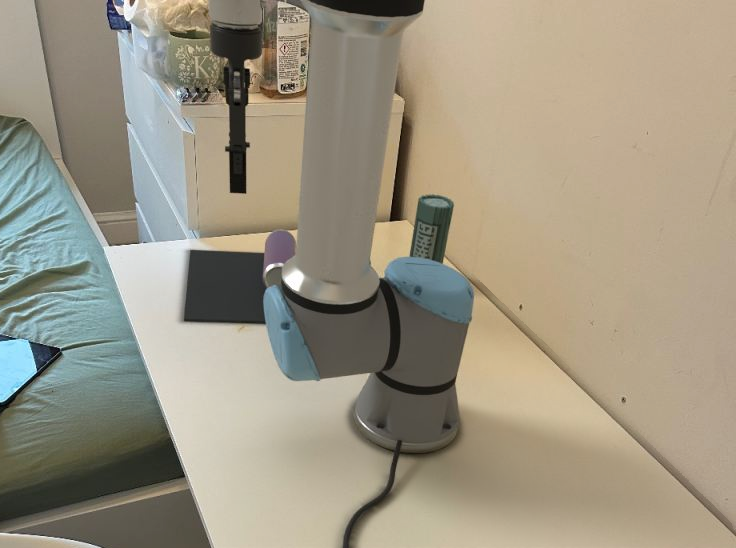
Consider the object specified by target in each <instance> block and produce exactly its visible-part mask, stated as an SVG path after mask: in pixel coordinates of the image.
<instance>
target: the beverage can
mask: <svg viewBox="0 0 736 548" xmlns="http://www.w3.org/2000/svg"><path fill="white" fill-rule="evenodd" d="M296 245H297V239H296V238H295V236H294V235H293V234H292V232H290V231H289V230H286V229H279V228H278V229H275V230H273V231H271V232H270V233H269V234H268V236H267V238H266V239H265V242H264V251H263V253H264V263H263V275H262V280H263V284H264V286H265V287H266V288H269V287H272V286H273V285H277V286H281V275H282V268H283V265H284V264H285V262H286V261H288V260H289V259H290V258H292V257H293V256H294V255H296Z"/></svg>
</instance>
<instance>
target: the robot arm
mask: <svg viewBox="0 0 736 548" xmlns="http://www.w3.org/2000/svg"><path fill="white" fill-rule="evenodd" d="M299 2H300V3H301V4H302V5H303V7H304V9H305V10H306V12H307V13H308V14H309V17H310V19H311V23H310V36H309V37H310V38H309V40H310V41H309V51H308V52H309V54H308V65H307V66H308V67H307V68H308V69H307V83H306V96H305V97H306V98H305V111H304V112H305V113H304V125H303V126H304V128H303V130H304V131H303V140H302V141H303V143H302V157H301V171H300V172H301V173H300V184H299V185H300V186H299V203H298V217H297V230H296V232H297V233H296V243H297V245H296V255H294V256H293V257H292V258H290V259H289V260H288V261H286V262H285V264H284V265H283V268H282V275H281V286H277V285H273V286H272V287H269V288H267V289H266V291H265V294H264V300H263V302H264V314H265V321H266V323H265V326H266V331H267V335H268V339H269V343H270V347H271V351H272V352H273V356H274V359H275V361H276V364H277V366H278V368H279V369H280V372H282V375H283V376H284V377H286V379H288V380H290V381H293V382H306V381H316V382H321V380H325V379H334V378H340V377H341V378H342V377H349V376H359V375H365V374H369V375H368V377H367V379H366V381H365V383H364V385H363V386H362V388H361V390H360V391H359V394H358V396H357V398H356V400H355V403H354V412H353V419H354V423H355V425H356V427H357V429H358V430H359V432H360V433H361V434H362V435H363V436H364V437H365V438H367V439H368V440H369V441H371V442H372V443H374V444H375V445H377V446H380V447H382V448H385V449H387V450H391V451H393V456H392V461H391V464H390V470H389V477H388V482H387V485H386V487H385V488H384V489H383V491H382V492H381V493H380V494H379V495H378V496H376V497H375V498H374V499H372V500H370V501H369V502H367V503H366V504H364V505H363V506H361V507H360V508H359V509H358V510H356V511H355V513H354V514H352V517H350V520H349V522H348V524H347V526H346V529H345V531H344V533H343V534H344V535H343V541H342V548H350V538H351V534H352V531H353V529H354V526H355V524H356V523H357V521H358V519H359V518H360V517H361V516H362V515H363V514H364V513H365V512H367V511H368V510H370V509H371V508H373V507H374V506H376V505H378V504H379V503H380V502H382V501H383V500H384V499H385V498H386V497H387V496H388V495H389V493H390V492H391V491H392V489H393V487H394V483H395V479H396V471H397V466H398V461H399V457H400V453H403V454H405V453H406V454H426V453H431V452H435V451H438V450H441V449H443V448H444V447H446V446H448V445H449V444H450V443H452V441H454V440H455V438H456V435H457V434H458V429H459V424H460V422H461V421H460V420H461V416H460V408H459V407H460V406H459V399H458V392H457V387H456V386H457V385H456V382H457V378H458V373H459V369H460V365H461V362H462V361H461V360H462V356H463V351H464V347H465V344H466V338H467V335H468V330H469V326H470V323H471V322H472V319H473V310H474V302H475V301H474V300H475V291H474V288H473V286H472V283H471V282H470V281H469V279H468V278H467V277H465V276H464V275H463V274H462V273H461V272H459V271H458V270H456V269H454V268H453V267H451V266H449V265H447V264H444V263H443V264H442V263H439V262H436V261H433V260H429V259H425V258H418V257H409V256H401V257H396V258H394V259H393V260H391V261H390V262H388V264H387V266H386V268H385V269H384V277H380V276H379V274H378V272H377V271H376V270H375V268H374V267H373V266H372V264H371V265H370V264H369V263H370V261H371V255H372V249H373V242H374V235H375V228H376V219H377V214H378V208H379V207H378V206H379V202H380V201H379V200H380V193H381V186H382V180H383V179H382V178H383V174H384V165H385V159H386V153H387V145H388V139H389V131H390V125H391V117H392V111H393V105H394V96H395V90H396V84H397V78H398V71H399V64H400V55H401V49H402V42H403V35H404V33H405V30H406V29H407V28H408V27H410V26H411V25H412V24H413V23H414V22H416V20H417V19H419V18H420V17H421V16H422V15H423V12H424V6H425V2H426V1H425V0H299ZM267 5H268V0H208V17H209V19H210V20H211V21H212V22H211V24H210V26H209V43H210V46H209V47H210V52H211V53H212V54H213V55H214V56H216V57H218V58H222V59H227V60H228V66H223V70H222V71H223V74H222V75H223V76H222V77H223V84H224V86H225V87H224V88H225V91H224V92H225V103H226V105H227V106H228V121H229V126H228V127H229V132H228V137H229V140H228V145H225V146H224V152H225V153H228V164H229V165H228V167H229V168H228V169H229V171H228V172H229V194H243V195H247V149H250V148H251V142H250V141H246V139H247V138H246V137H247V132H246V129H247V126H246V125H247V124H246V122H247V121H246V118H247V117H246V113H247V112H246V111H247V109H246V108H247V107H248V105H249V100H250V99H249V87H250V86H251V68H247V67H246V66H245V62H246V61H248V60H249V61H254V60H258V59H260V58H261V57H262V56H263V29H262V27H261V26H259V25H260V24H262V22H263V9H262V7H267Z"/></svg>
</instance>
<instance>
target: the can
mask: <svg viewBox="0 0 736 548" xmlns="http://www.w3.org/2000/svg"><path fill="white" fill-rule="evenodd" d="M454 207H455V203H454V201H453V200H452V199H451V198H448V197H447V196H443V195H439V194H430V193H429V194H424V195H420V197H418V199H417V206H416V212H415V218H414V224H413V230H412V231H413V232H412V238H411V243H410V250H409V256H408V257H418V258H425V259H429V260H433V261H436V262H439V263H442V264H444V259H445V254H446V248H447V245H448V238H449V233H450V228H451V222H452V218H453V213H454Z"/></svg>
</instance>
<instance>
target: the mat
mask: <svg viewBox="0 0 736 548" xmlns="http://www.w3.org/2000/svg"><path fill="white" fill-rule="evenodd" d="M263 263H264V252H252V251H251V252H249V251H227V250H226V251H225V250H223V251H222V250H203V249H190V250H189V261H188V271H187V281H186V293H185V301H184V302H185V303H184V314H183V321H184V322H208V323H209V322H210V323H211V322H214V323H243V324H244V323H246V324H266V321H265V314H264V302H263V300H264V294H265V291H266V289H267V288H266V287H265V286H264V284H263V280H262V275H263Z"/></svg>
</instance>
